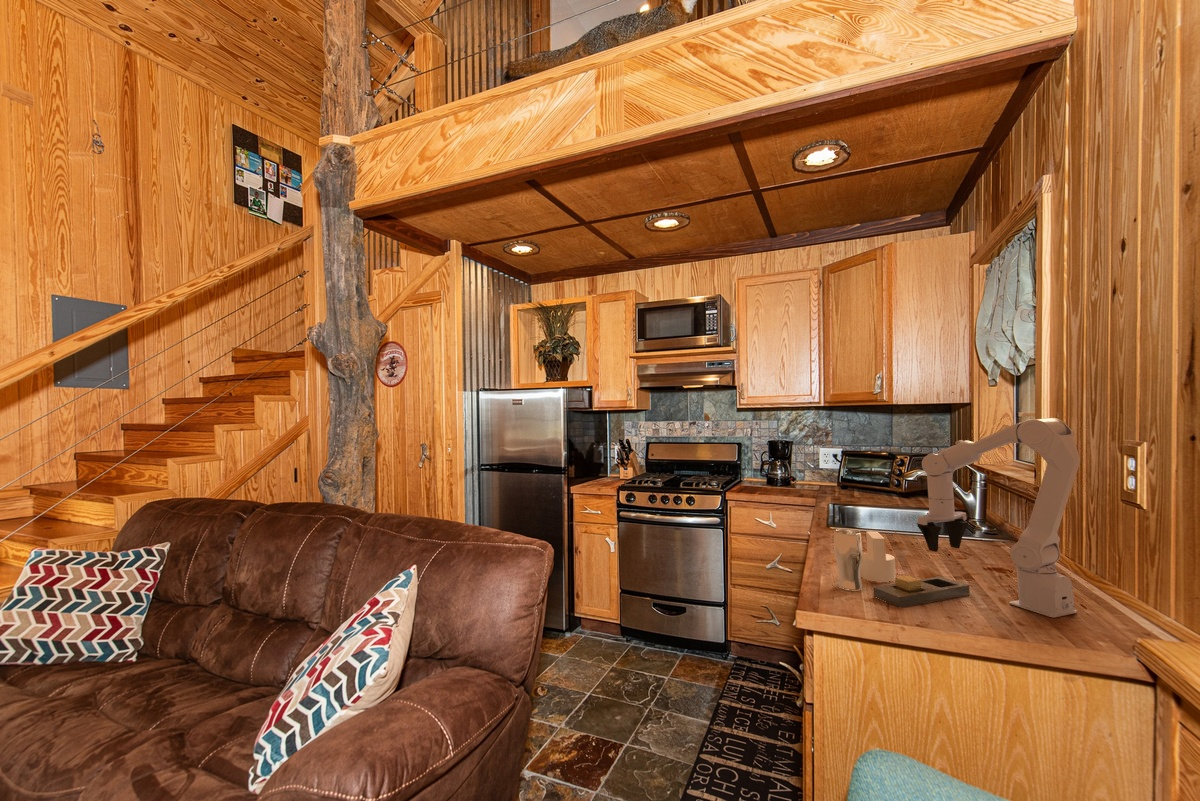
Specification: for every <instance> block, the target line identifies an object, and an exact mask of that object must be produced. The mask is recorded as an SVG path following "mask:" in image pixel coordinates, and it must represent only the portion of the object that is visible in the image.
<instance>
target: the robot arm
mask: <svg viewBox="0 0 1200 801" xmlns="http://www.w3.org/2000/svg"><path fill="white" fill-rule="evenodd" d="M1074 433H1075V432H1074V431H1073V430H1072V429H1071V427H1069V425H1068V424H1066V422H1064V421H1063V420H1061V419H1060V418H1056V417H1046V418H1039V419H1037V418H1032V419H1026V420H1024V421H1023V422H1018V423H1014V424H1011V425H1009V426H1005V427H1004V428H1002V429H1000V430H997V431H996V432H994V433H991V434H989V435H987V436H985V437H983V438H980V439H978V440H976V441H975V442H974V441H970V440H968V439H967V440H963V439H960V440H956V441H955V444H954V445H952V446H950V447H947V448H940V449H938V451H939V452H938V453H928V454H927V455H925V456H924V457H923V458H922V460H921V468H922V470H923V471H924V472H925V473H926V480H927V481H926V482H927V483H926V484H927V496H928V497H927V498H928V508H929V509H928V512H926V514H923V515H920V516H919V515H918V516H917V527H918V529H919V530H920V532H921V533H922V535H923V538H924V540H925V542H926V544H927V545H926V546H927V548H928V550H929V551H931V552H935V553H938V550H939V538H940V537H939V535H940V533H941V532H940V531H941V529H942V527H941V526H939V525H936V524H937V523H944V524H945V528H946V530H947V533H948V542H949V545H950V548H954V549H960V548H961V547H960V546H961V544H962V540H963V536H964V533H965V531H966V530H967V528H968V527H969V521H966V520H967V513H966V512H964V511H955V498H954V483H953V478H954V477H953V474H954V472H955V471H956V470H958V469H961V468H964V467H966V466H969V465H971V464H974V463H976V462H979V461H980V460H981V458H982V455H983V454H985V453H988V452H990V451H994V450H996V449H1000V448H1001V447H1004V446H1007V445H1009V444H1012V443H1013V444H1024V445H1025V446H1026V447H1029V448H1030V449H1031V450H1033V451H1035V453H1037V454H1039V455H1040V457H1041V458H1042V459H1043V460H1044V461H1045V463H1046V467H1045V470H1044V473H1043V477H1042V479H1041V483H1040V486H1039V489H1038V493H1037V496H1036V499H1035V501H1034V505H1033V509H1032V512H1031V513H1030V514H1031V515H1030V518H1029V522H1028V524H1027V527H1026V528H1025V529H1024V530H1023V532H1022V533H1021V534H1020V535H1019V537H1018V541H1017V542H1016V543H1014V544H1013V545H1012V546H1011V547H1010V549H1009V557H1010V559H1011V561H1012V562H1013V564H1014V565H1016V577H1017V579H1016V580H1017V594H1018V600H1011V601H1009V605H1012V606H1015V607H1018V608H1020V609H1021V608H1022V609H1025V610H1027V611H1030V612H1034V613H1037V614H1040V615H1042V616H1046V617H1050V618H1052V619H1053V618H1058V617H1063V616H1069V615H1073V614H1076V613H1078V610H1077V609H1075V598H1074V597H1075V596H1074V586H1073V583H1072V581H1071V579H1070V578H1069V577H1068V576H1065V575H1063V574H1061V573H1059V572H1058V571H1057V566H1056V563H1057V562H1058V561H1059V560H1060V558H1061V549H1060V546H1059V545H1060V541H1061V538H1060V536H1059V535H1058V532H1059V528H1060V525H1061V522H1062V519H1063V515H1064V513H1065V510H1066V507H1067V504H1068V500H1069V499H1070V494H1071V492H1072V488H1073V485H1074V482H1075V479H1076V476H1077V473H1078V470H1079V467H1080V464H1081V457H1080V454H1079V451H1078V449H1077V445H1076V442H1075V440H1074V437H1075V436H1074Z"/></svg>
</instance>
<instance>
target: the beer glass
mask: <svg viewBox="0 0 1200 801" xmlns="http://www.w3.org/2000/svg"><path fill="white" fill-rule="evenodd" d="M862 540H863V538H862V532H861V531H860V530H856V529H850V528H838V529H835V530H833V549H834V550H833V552H834V556H835V559H836V560H835V562H836V565H837V569H838V582H837V587H838V586H839V587H841V588H844V589H849V590H861V589H863V590H864V585H863V582H862V578H861V564H862V555H863V553H864V552H863V541H862ZM839 587H838V588H839ZM861 591H862V590H861Z"/></svg>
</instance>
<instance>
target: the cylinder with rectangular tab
mask: <svg viewBox="0 0 1200 801" xmlns="http://www.w3.org/2000/svg"><path fill="white" fill-rule="evenodd" d="M865 534H866V535H865V536H866V550H867V551H866V552H865V551H864V552H863V555H862V564H861V577H863V578H865V579H868V580H872V581H881V582H887V583H890V582H889V581H893V582H895V581H894V580H895V577H897V575H896V574H897V573H896V559H895V558H896V557H895V556H893V555H892V554H890V553H889V554H888V553H886V552H887V551H886V538H885V537H884V536H883V535H882V534H880V532H878V531H870V530H868V531H865ZM868 580H867V581H868ZM872 581H871V582H872ZM881 582H880V583H881Z"/></svg>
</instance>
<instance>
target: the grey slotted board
mask: <svg viewBox="0 0 1200 801" xmlns="http://www.w3.org/2000/svg"><path fill="white" fill-rule="evenodd" d="M920 580H921V586H922V591H920V592H914V593H907V592H904V591H901V590H899V589H896V586H895V583H891V584H890V583H889V584H885V585H881V586H880V585H879V586H873V588H872V589H873V590H872V591H873V598H875V597H877V598H879V599H881V600H880V601H882V600H884V601H886V602H885V603H887V602H888V603H887V604H889V603H890V604H889V605H892V604H893V605H892V606H894V605H895V606H894V607H897V608H899V607H900V608H899V609H901V608H907V606H908V607H912V606H919V605H923V604H928V603H934V602H939V601H945V600H950V599H956V598H961V597H967V596H971V595H970V592H971V591H970V585H969V584H966V583H965V582H964V583H963V582H960V581H957V580H953V579H950V578H948V577H944V576H939V575H938V576H934V577H933V576H932V577H928V578H921V579H920ZM877 598H876V599H877ZM879 599H878V600H879ZM884 601H883V602H884Z"/></svg>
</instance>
